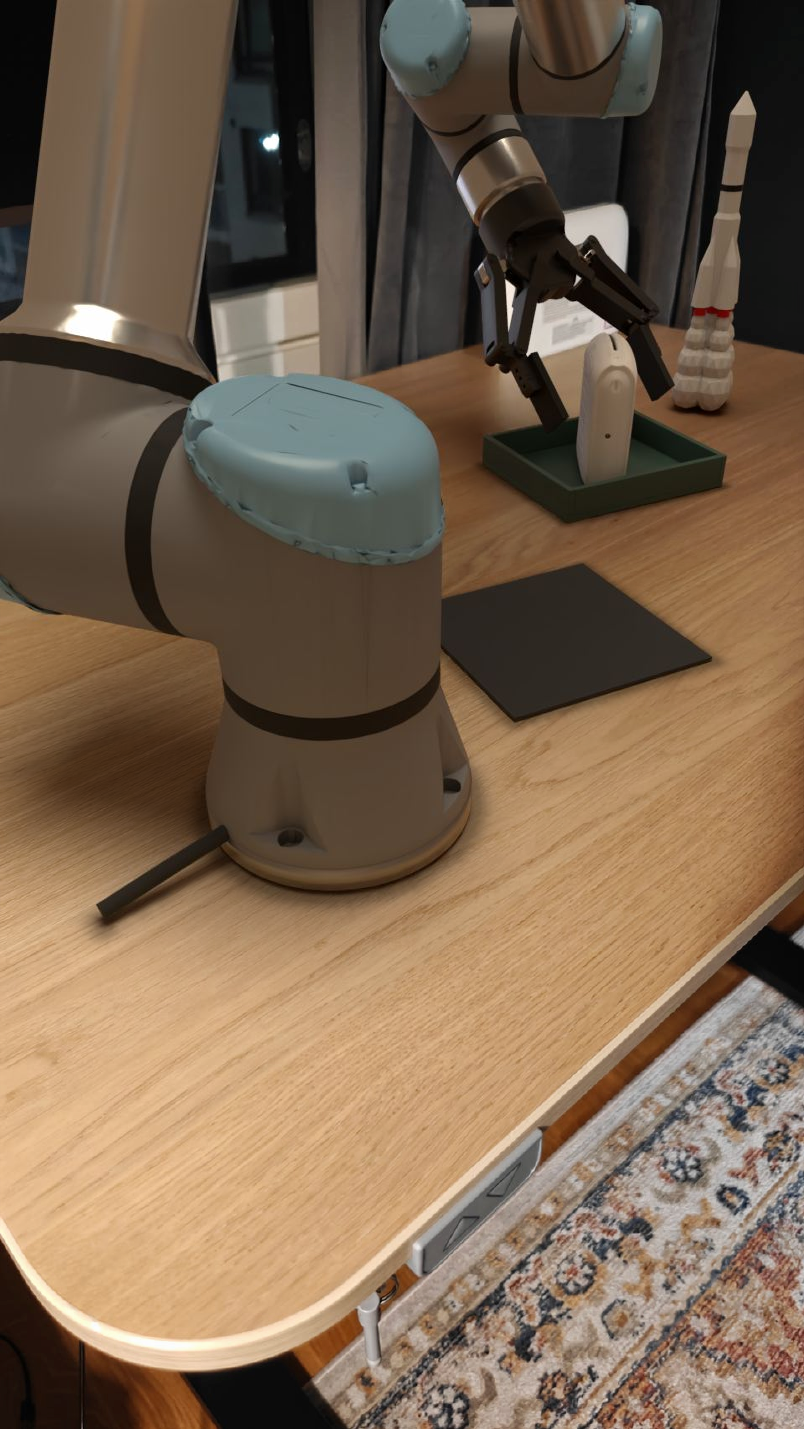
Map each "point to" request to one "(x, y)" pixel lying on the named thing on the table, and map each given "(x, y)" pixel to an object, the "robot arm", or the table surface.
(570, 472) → the tray
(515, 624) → the mat
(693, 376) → the rocket model
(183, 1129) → the table surface
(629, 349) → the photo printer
